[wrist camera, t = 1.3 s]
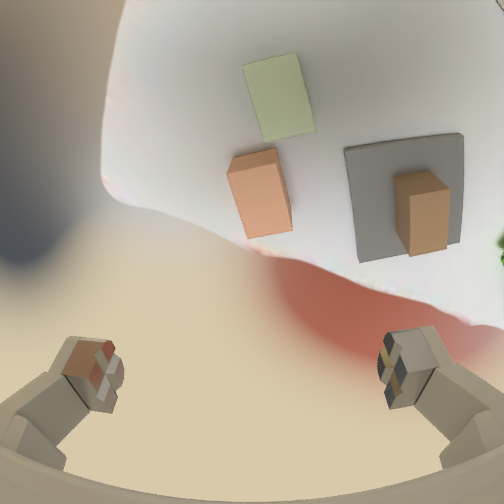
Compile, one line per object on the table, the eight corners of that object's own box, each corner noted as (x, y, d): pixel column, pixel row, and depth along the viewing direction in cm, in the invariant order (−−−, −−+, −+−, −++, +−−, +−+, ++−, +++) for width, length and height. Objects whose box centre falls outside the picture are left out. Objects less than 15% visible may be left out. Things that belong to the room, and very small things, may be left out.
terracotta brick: (276, 147, 31) (275, 162, 26) (290, 207, 34) (292, 230, 30) (233, 157, 32) (226, 174, 27) (251, 215, 35) (247, 239, 31)
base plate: (459, 133, 27) (488, 150, 22) (456, 238, 34) (476, 265, 29) (343, 148, 30) (356, 168, 25) (358, 258, 37) (368, 290, 32)
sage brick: (292, 54, 25) (296, 52, 21) (310, 120, 29) (316, 131, 25) (246, 65, 26) (241, 65, 22) (266, 130, 30) (264, 142, 25)
